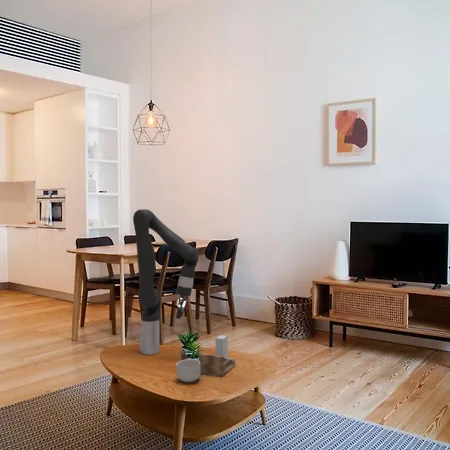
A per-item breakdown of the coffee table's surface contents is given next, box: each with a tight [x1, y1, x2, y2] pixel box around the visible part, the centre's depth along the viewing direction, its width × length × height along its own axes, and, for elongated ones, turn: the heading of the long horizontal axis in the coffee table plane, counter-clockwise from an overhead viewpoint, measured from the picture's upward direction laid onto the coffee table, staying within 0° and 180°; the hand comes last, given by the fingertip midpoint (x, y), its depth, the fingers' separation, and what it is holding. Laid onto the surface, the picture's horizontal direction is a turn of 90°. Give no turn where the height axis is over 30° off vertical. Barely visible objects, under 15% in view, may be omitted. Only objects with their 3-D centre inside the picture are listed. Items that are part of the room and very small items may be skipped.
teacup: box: [175, 357, 201, 383], centre depth 219 cm, size 14×11×8 cm
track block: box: [198, 353, 236, 378], centre depth 231 cm, size 12×16×9 cm
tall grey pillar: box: [215, 334, 229, 358], centre depth 244 cm, size 4×6×12 cm, turn 158°
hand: (179, 317), depth 248 cm, fingers open, 8 cm apart
